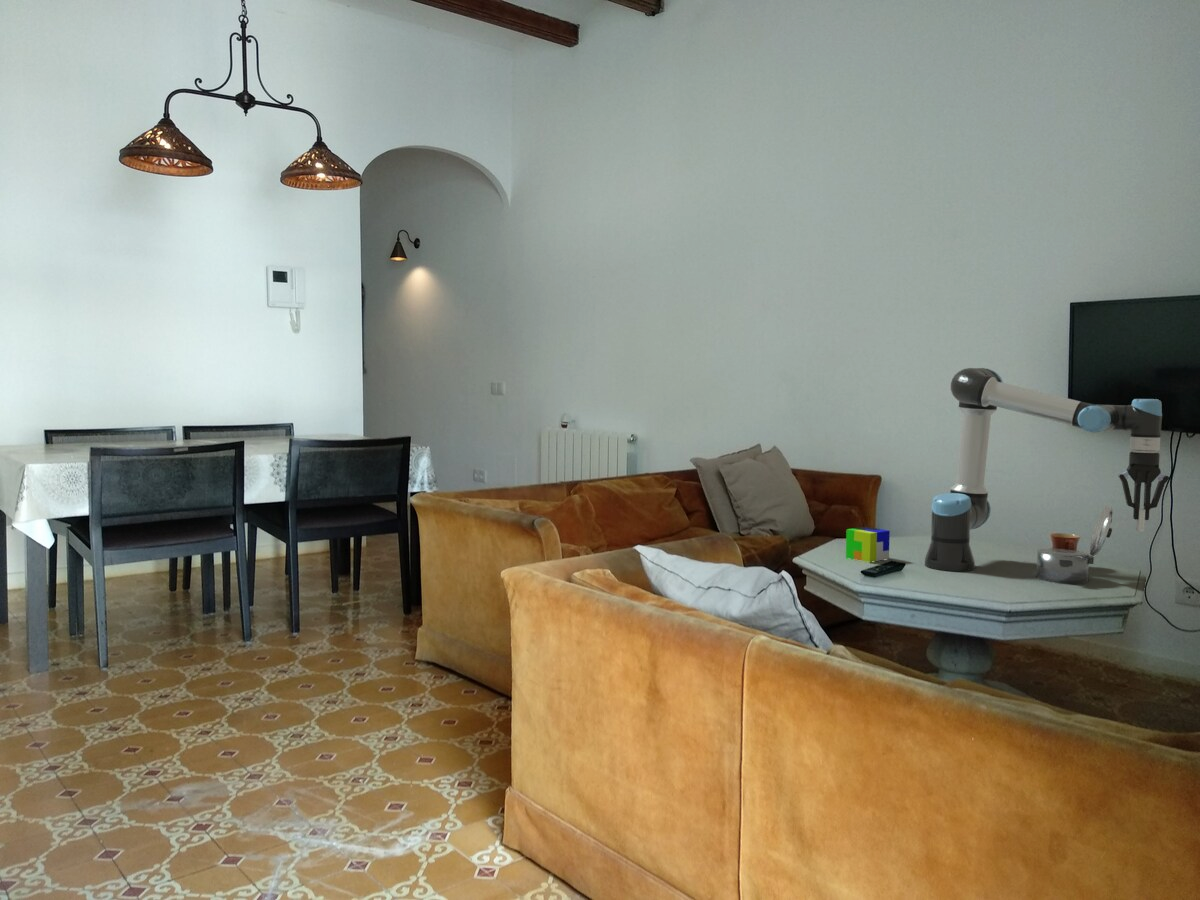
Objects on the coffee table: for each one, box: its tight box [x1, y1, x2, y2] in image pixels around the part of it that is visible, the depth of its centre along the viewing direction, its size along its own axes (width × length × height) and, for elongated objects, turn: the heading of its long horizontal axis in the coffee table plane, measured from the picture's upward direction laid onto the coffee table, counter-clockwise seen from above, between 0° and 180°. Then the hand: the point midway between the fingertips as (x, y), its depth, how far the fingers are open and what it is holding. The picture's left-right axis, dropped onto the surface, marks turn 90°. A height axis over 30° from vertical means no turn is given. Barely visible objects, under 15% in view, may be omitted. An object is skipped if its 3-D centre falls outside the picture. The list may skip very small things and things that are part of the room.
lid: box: [1089, 505, 1113, 557], centre depth 260 cm, size 15×15×3 cm
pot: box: [1035, 548, 1095, 585], centre depth 265 cm, size 15×19×8 cm
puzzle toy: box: [845, 526, 891, 562], centre depth 295 cm, size 10×10×10 cm
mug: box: [1049, 532, 1081, 551], centre depth 281 cm, size 12×9×10 cm
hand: (1140, 530), depth 257 cm, fingers closed
